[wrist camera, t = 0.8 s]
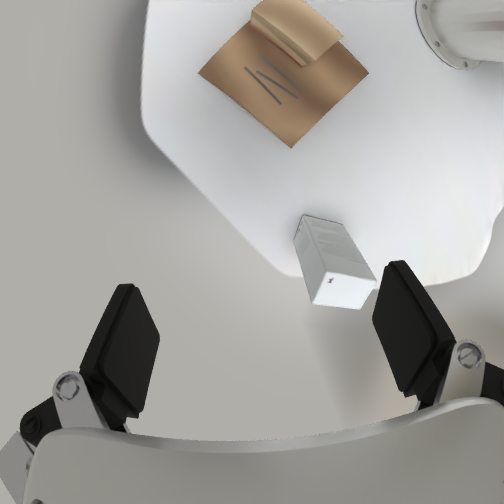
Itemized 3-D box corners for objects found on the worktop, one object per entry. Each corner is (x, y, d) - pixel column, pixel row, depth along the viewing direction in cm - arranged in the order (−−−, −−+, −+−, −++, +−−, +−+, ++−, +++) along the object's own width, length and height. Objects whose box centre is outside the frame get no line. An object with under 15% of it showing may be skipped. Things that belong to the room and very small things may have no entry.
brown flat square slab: (279, -2, 20) (281, -7, 18) (363, 73, 24) (369, 73, 23) (200, 74, 25) (197, 73, 23) (288, 145, 30) (290, 148, 28)
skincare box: (292, 242, 36) (309, 304, 26) (302, 213, 34) (325, 270, 24) (332, 250, 37) (360, 311, 27) (344, 224, 35) (379, 280, 25)
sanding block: (275, 3, 19) (281, -16, 14) (326, 45, 22) (345, 36, 17) (249, 25, 21) (250, 9, 16) (301, 67, 23) (315, 61, 18)
